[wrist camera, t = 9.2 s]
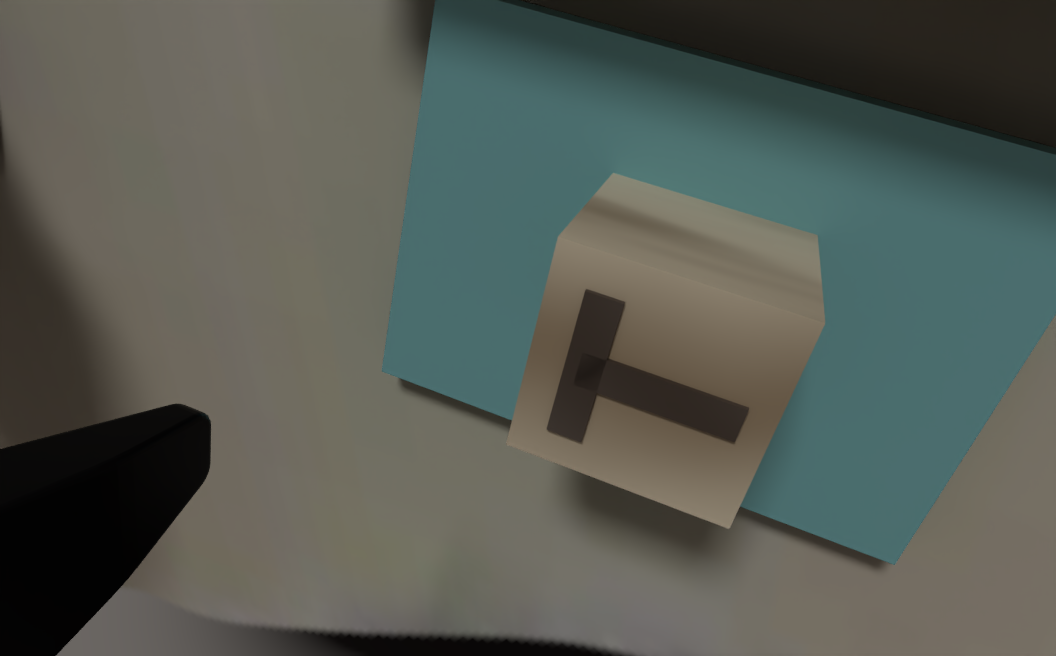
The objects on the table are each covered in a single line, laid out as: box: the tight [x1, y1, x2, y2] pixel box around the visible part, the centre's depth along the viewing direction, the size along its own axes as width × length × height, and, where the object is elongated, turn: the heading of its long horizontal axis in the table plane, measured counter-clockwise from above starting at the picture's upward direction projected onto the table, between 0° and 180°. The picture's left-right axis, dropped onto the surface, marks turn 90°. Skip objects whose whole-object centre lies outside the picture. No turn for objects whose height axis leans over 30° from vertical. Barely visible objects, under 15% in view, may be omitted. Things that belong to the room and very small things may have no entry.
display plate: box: [382, 0, 1056, 565], centre depth 18 cm, size 10×14×1 cm
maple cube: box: [506, 173, 825, 529], centre depth 15 cm, size 4×4×5 cm
